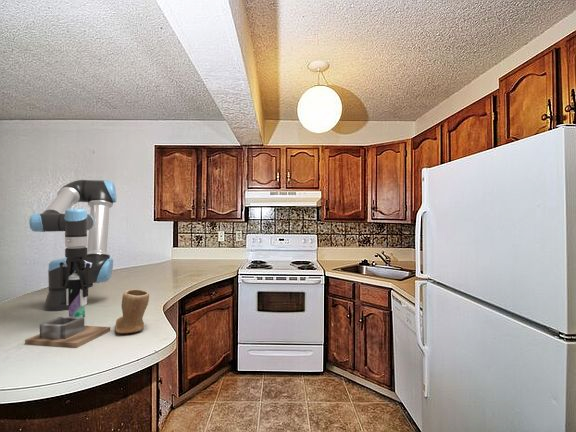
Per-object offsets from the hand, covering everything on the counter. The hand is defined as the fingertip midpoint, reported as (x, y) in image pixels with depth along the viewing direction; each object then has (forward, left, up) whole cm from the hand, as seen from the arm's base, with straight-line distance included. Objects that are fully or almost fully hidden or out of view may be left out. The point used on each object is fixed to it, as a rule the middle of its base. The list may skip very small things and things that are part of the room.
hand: (76, 304), depth 134 cm
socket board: (+9, -13, -8) cm, 18 cm away
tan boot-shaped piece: (+26, -2, -8) cm, 27 cm away
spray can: (0, 0, -6) cm, 6 cm away
